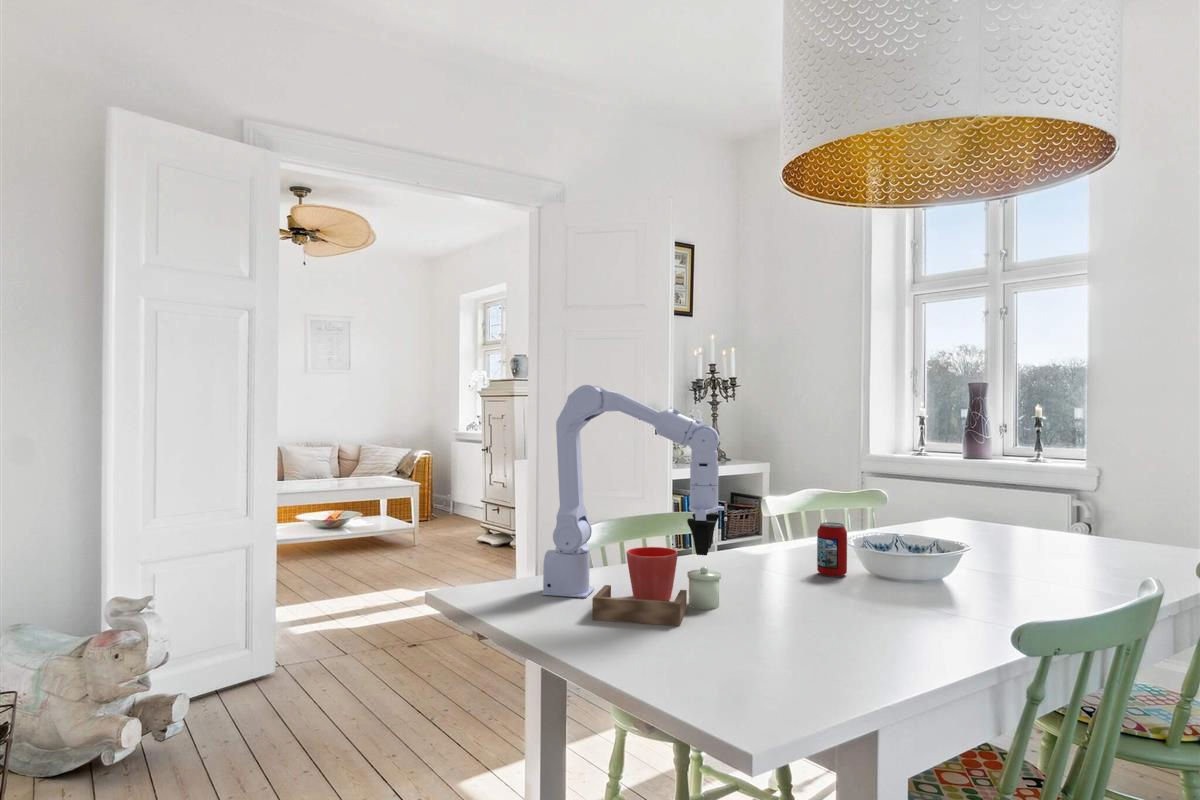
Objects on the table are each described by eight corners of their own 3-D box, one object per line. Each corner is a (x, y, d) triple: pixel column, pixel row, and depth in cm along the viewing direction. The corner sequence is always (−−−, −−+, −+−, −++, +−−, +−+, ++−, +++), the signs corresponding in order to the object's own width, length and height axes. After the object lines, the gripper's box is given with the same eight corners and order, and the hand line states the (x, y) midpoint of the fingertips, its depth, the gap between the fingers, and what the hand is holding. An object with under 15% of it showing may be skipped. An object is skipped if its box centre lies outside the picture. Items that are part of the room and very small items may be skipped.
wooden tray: (592, 619, 139) (592, 597, 139) (604, 605, 150) (605, 584, 150) (679, 625, 136) (679, 603, 136) (686, 610, 146) (686, 590, 146)
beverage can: (811, 573, 181) (811, 522, 181) (833, 570, 184) (833, 521, 184) (830, 578, 175) (831, 526, 175) (853, 576, 178) (853, 525, 178)
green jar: (685, 608, 148) (685, 569, 148) (689, 600, 154) (689, 562, 154) (719, 610, 146) (719, 571, 146) (721, 602, 153) (721, 564, 153)
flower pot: (616, 600, 153) (617, 553, 153) (639, 589, 163) (639, 544, 163) (665, 607, 148) (665, 558, 148) (685, 595, 158) (685, 549, 158)
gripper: (721, 488, 146) (720, 559, 146) (726, 482, 160) (725, 546, 160) (684, 487, 147) (684, 557, 147) (693, 480, 162) (692, 544, 161)
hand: (703, 551), depth 154 cm, fingers open, 7 cm apart
